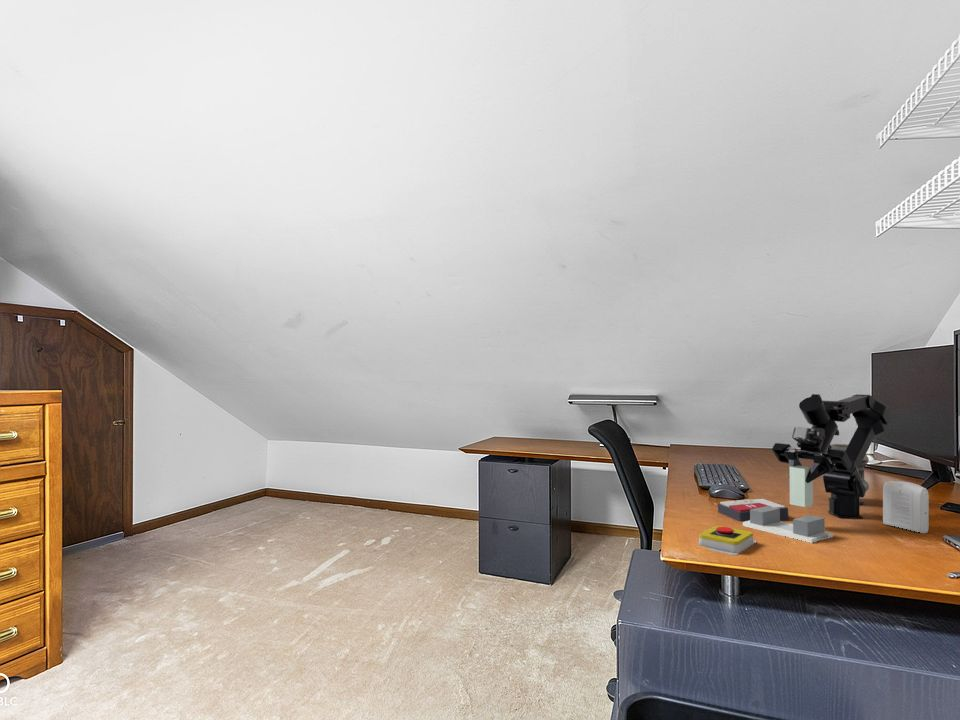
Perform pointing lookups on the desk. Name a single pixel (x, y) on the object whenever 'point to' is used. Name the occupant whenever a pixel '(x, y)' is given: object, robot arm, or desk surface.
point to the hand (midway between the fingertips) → (798, 480)
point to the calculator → (748, 508)
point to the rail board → (788, 525)
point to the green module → (800, 487)
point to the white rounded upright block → (906, 506)
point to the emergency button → (726, 540)
